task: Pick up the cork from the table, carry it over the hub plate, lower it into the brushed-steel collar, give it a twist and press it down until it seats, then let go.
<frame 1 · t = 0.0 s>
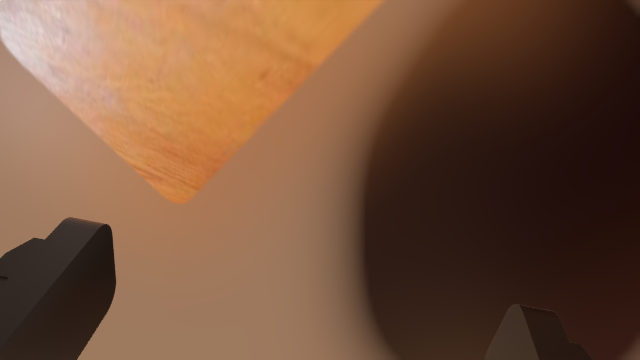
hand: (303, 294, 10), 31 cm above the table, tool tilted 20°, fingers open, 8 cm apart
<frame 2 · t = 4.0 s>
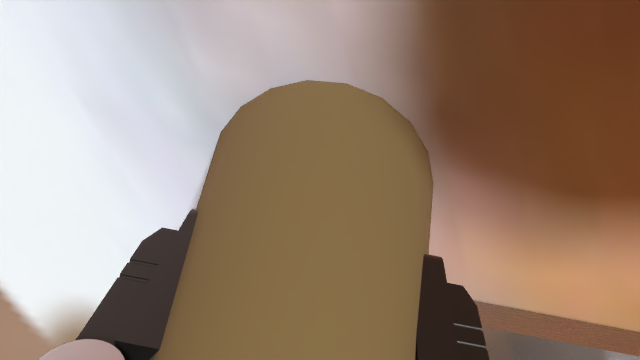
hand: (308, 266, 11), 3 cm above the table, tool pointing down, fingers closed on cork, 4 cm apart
cork: (320, 182, 14), on the table, touching gripper
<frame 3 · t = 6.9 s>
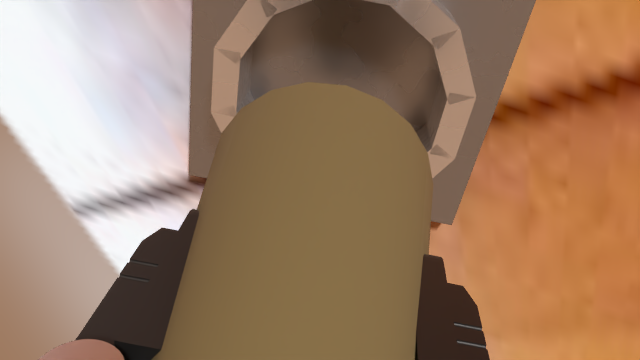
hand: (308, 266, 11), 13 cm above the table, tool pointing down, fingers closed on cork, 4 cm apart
cork: (321, 184, 14), point 9 cm above the table, touching gripper
hub: (343, 75, 22), on the table
when the fingers open (5 cm above the table, at t = 9.9 s): cork stays where it is, resting on hub.
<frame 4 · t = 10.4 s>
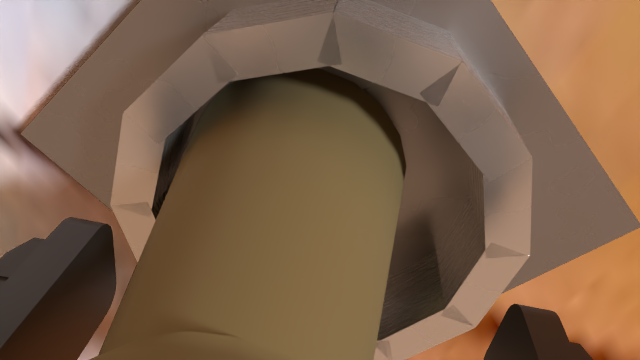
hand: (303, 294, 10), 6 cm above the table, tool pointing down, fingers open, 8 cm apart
cork: (298, 167, 14), point 1 cm above the table, touching hub
hub: (328, 162, 15), on the table
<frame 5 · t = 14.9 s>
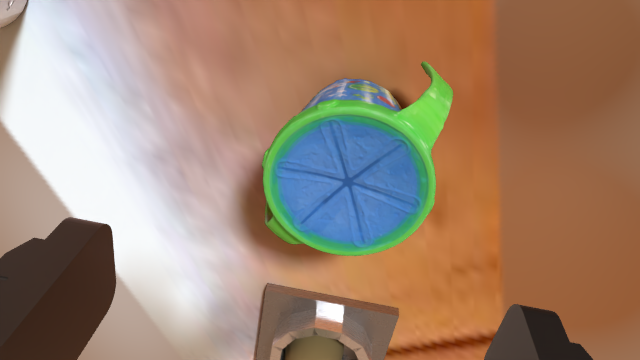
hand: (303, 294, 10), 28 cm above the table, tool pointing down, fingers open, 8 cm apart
cork: (315, 344, 51), point 1 cm above the table, touching hub
hub: (323, 337, 51), on the table
snack cup: (354, 120, 39), on the table
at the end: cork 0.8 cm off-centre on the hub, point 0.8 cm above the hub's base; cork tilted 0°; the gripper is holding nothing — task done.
